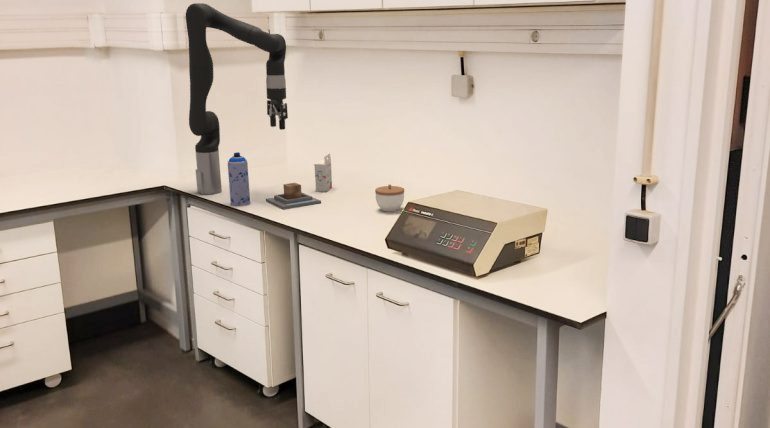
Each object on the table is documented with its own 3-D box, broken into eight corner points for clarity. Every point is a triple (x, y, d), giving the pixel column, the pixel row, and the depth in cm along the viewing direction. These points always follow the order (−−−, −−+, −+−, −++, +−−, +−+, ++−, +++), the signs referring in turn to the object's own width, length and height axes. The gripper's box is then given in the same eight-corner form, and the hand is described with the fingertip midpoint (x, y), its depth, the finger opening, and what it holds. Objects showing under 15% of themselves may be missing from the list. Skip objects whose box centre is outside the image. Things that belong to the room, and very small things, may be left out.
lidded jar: (398, 214, 257) (397, 189, 255) (370, 211, 261) (370, 186, 259) (408, 207, 267) (408, 182, 264) (382, 204, 271) (382, 180, 268)
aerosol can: (239, 200, 282) (235, 150, 277) (254, 202, 278) (251, 151, 273) (225, 205, 275) (221, 153, 270) (241, 207, 271) (237, 155, 266)
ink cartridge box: (321, 187, 302) (319, 152, 299) (332, 187, 301) (331, 153, 298) (315, 191, 294) (313, 156, 290) (326, 192, 293) (325, 156, 289)
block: (290, 201, 274) (289, 186, 272) (284, 199, 278) (283, 184, 276) (301, 199, 277) (301, 184, 275) (295, 197, 281) (294, 182, 279)
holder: (283, 209, 267) (282, 203, 266) (265, 201, 280) (265, 195, 279) (321, 203, 275) (320, 196, 275) (302, 195, 288) (302, 189, 288)
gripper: (259, 85, 283) (261, 126, 287) (274, 88, 271) (276, 131, 275) (277, 84, 286) (279, 125, 291) (292, 87, 275) (294, 129, 279)
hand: (277, 128), depth 283 cm, fingers open, 8 cm apart
